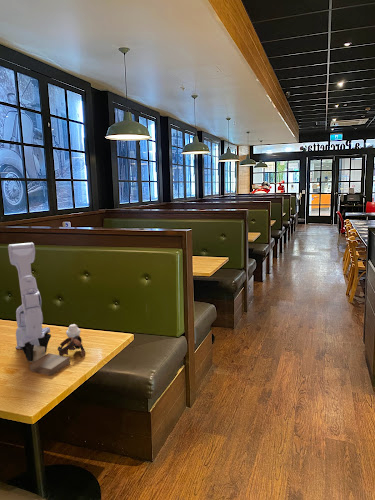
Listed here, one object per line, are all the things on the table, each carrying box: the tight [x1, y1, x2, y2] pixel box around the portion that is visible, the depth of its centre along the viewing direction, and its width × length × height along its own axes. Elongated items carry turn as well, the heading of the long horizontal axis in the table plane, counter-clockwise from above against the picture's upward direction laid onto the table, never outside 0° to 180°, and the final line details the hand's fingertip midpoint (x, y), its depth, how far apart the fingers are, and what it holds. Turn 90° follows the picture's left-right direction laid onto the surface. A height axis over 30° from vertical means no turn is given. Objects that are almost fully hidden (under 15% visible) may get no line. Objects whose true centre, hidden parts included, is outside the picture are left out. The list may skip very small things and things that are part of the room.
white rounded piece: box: [65, 323, 81, 338], centre depth 165 cm, size 6×6×7 cm
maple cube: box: [28, 345, 47, 363], centre depth 146 cm, size 4×4×5 cm
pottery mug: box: [57, 335, 86, 357], centre depth 151 cm, size 12×10×8 cm
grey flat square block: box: [29, 353, 71, 377], centre depth 141 cm, size 10×10×3 cm
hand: (37, 356), depth 147 cm, fingers open, 7 cm apart
